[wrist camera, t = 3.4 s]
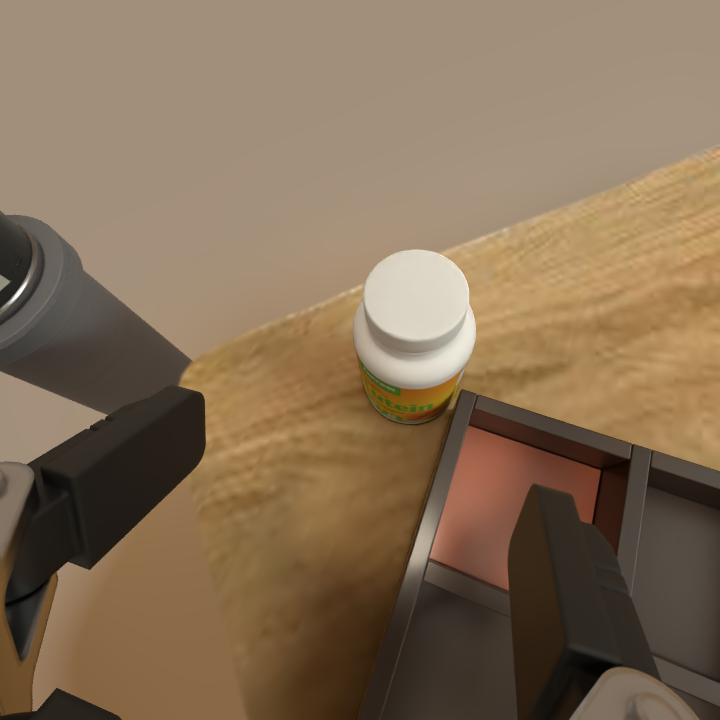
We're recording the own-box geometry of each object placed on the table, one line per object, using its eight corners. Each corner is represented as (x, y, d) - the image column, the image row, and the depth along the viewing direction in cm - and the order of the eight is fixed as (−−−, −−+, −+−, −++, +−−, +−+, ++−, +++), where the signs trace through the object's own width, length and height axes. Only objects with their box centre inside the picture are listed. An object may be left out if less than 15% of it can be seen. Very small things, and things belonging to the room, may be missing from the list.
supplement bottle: (353, 412, 24) (324, 339, 15) (378, 330, 26) (365, 223, 17) (446, 436, 23) (474, 374, 14) (465, 350, 25) (501, 247, 16)
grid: (345, 752, 18) (333, 800, 15) (452, 408, 24) (461, 388, 20) (776, 987, 15) (886, 1119, 11) (787, 519, 20) (863, 517, 17)
